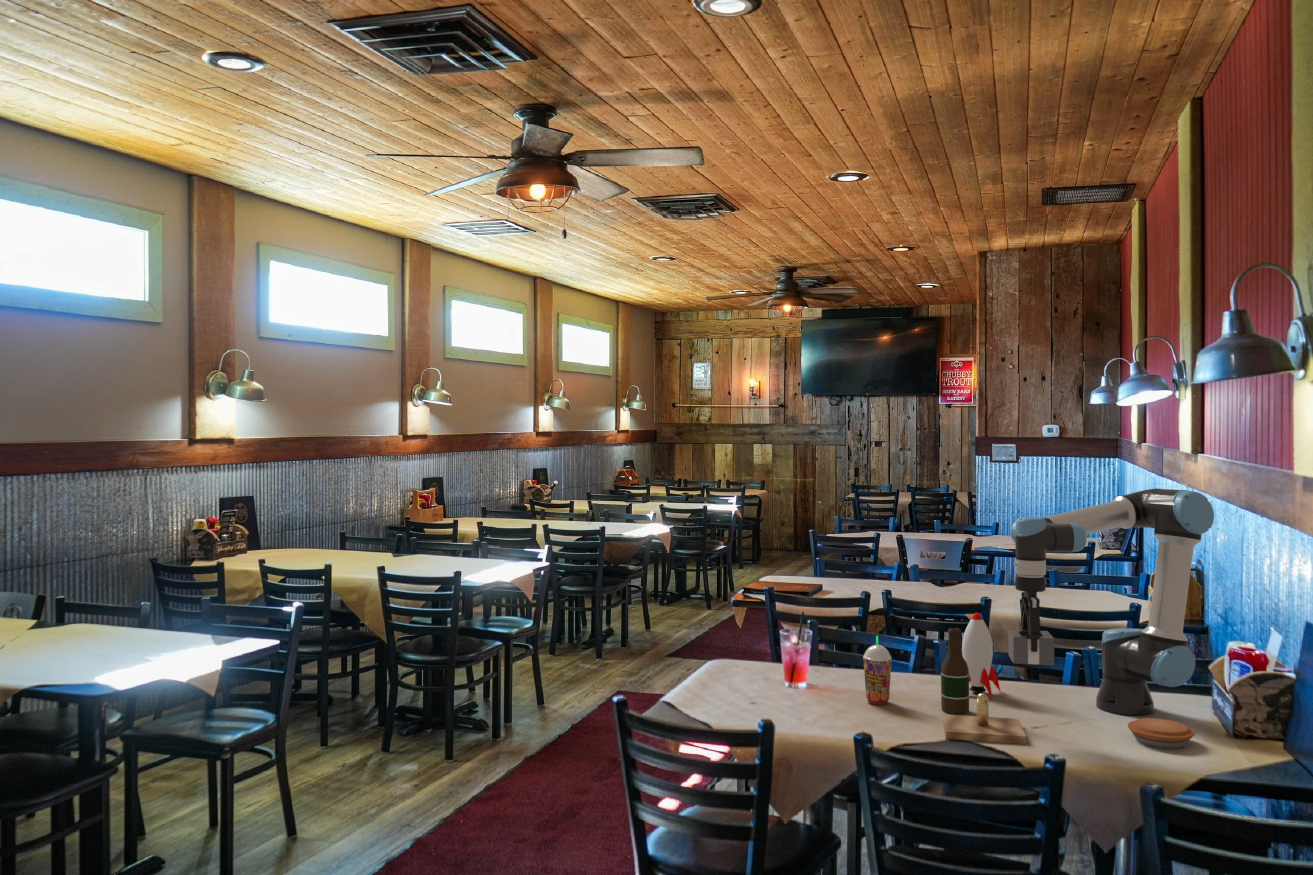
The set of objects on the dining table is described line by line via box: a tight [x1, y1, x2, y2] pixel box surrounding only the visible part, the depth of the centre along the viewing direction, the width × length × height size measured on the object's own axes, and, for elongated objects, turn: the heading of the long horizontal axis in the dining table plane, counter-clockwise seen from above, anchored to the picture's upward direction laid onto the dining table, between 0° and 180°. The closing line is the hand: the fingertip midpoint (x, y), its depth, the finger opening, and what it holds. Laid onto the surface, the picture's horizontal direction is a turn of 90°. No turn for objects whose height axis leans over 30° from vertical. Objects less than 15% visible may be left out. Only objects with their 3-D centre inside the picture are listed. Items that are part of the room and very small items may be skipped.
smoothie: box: [862, 635, 893, 706], centre depth 289 cm, size 8×8×20 cm
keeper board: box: [942, 713, 1027, 745], centre depth 259 cm, size 20×16×2 cm
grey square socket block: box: [1007, 629, 1055, 666], centre depth 256 cm, size 10×10×7 cm
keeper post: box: [976, 692, 990, 727], centre depth 259 cm, size 3×3×8 cm
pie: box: [1127, 717, 1196, 750], centre depth 250 cm, size 15×16×5 cm
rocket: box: [961, 612, 1001, 700], centre depth 299 cm, size 11×11×25 cm
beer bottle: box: [940, 627, 970, 715], centre depth 279 cm, size 8×8×24 cm
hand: (1030, 659), depth 256 cm, fingers closed on grey square socket block, 10 cm apart
